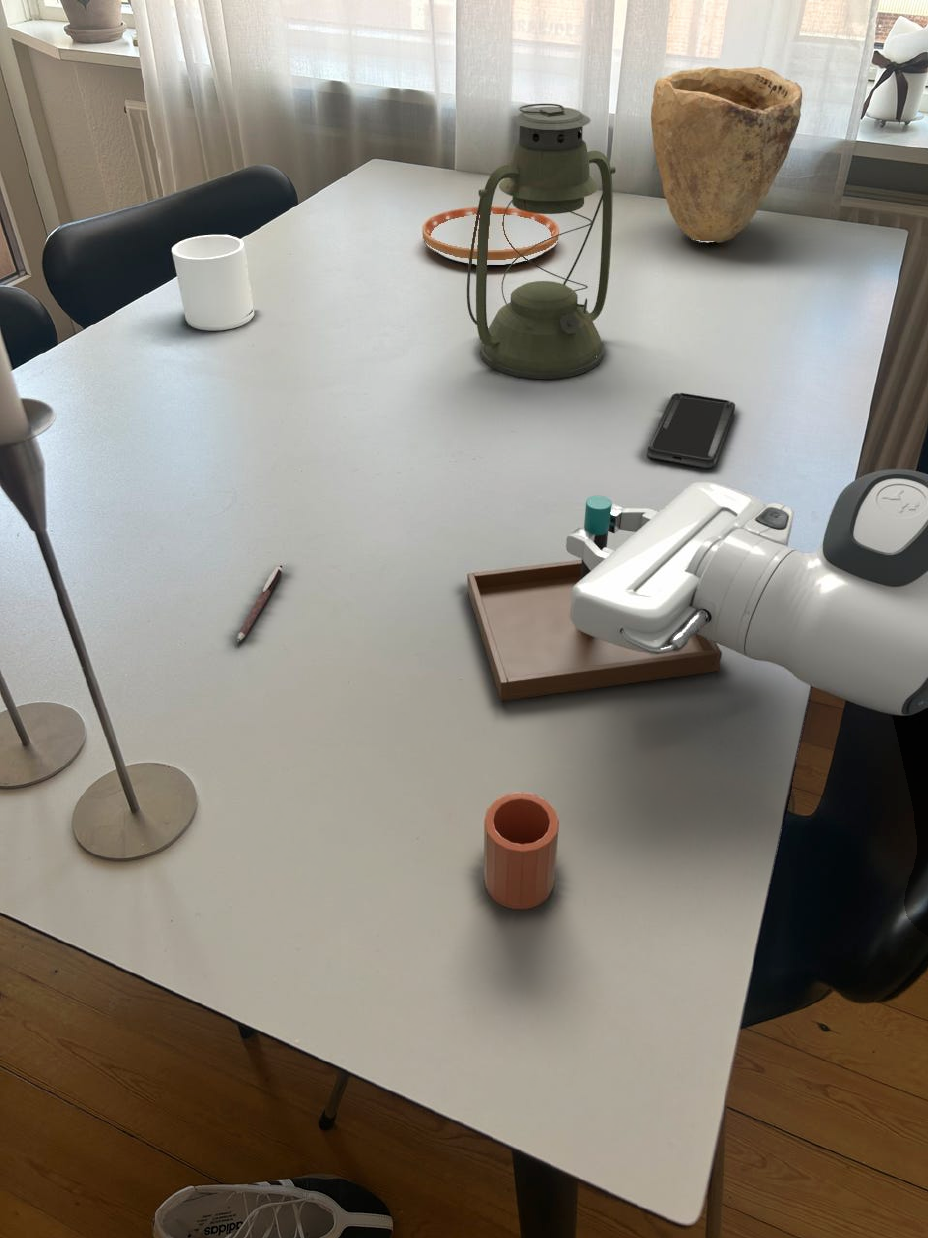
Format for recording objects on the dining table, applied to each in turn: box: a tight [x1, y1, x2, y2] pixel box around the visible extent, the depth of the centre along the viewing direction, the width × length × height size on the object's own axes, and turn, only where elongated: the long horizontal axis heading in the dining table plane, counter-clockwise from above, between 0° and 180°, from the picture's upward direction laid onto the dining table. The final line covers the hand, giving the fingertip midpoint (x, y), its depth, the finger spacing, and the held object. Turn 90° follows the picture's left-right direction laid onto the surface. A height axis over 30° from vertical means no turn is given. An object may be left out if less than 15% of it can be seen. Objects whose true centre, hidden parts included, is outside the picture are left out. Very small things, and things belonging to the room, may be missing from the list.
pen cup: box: [483, 791, 560, 910], centre depth 65 cm, size 5×5×6 cm
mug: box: [171, 234, 255, 332], centre depth 140 cm, size 13×10×10 cm
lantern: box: [466, 103, 616, 380], centre depth 123 cm, size 21×18×30 cm
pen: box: [237, 564, 283, 642], centre depth 90 cm, size 11×1×1 cm, turn 168°
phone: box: [646, 392, 736, 469], centre depth 114 cm, size 8×1×15 cm
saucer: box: [421, 205, 560, 260], centre depth 163 cm, size 23×23×4 cm
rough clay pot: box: [650, 66, 803, 244], centre depth 157 cm, size 22×22×25 cm
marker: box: [580, 495, 613, 580], centre depth 83 cm, size 2×2×13 cm
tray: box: [466, 559, 723, 702], centre depth 87 cm, size 19×15×2 cm
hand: (586, 526), depth 81 cm, fingers open, 3 cm apart
